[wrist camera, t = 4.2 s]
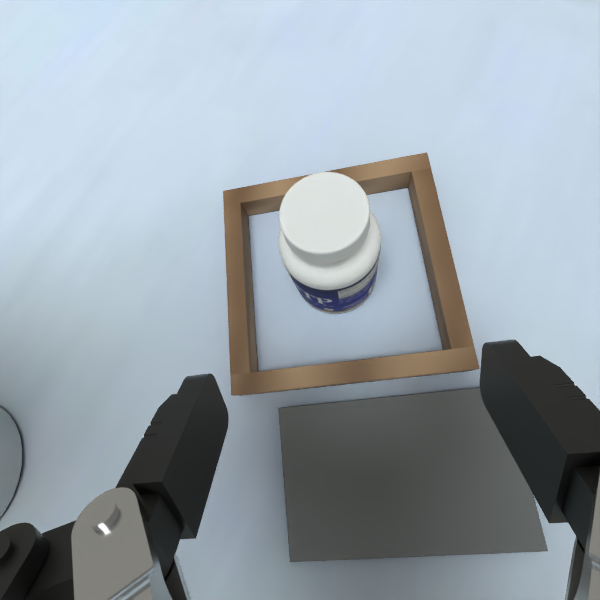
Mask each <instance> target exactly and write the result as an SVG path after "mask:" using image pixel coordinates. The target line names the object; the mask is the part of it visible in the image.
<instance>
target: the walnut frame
mask: <svg viewBox="0 0 600 600" xmlns="http://www.w3.org/2000/svg"><path fill="white" fill-rule="evenodd" d="M327 172H334V173H339V174H343V175H345V176H348V177H350V178H351V179H353V180H354V181H356V182H357V183H358V184H359V185H360V186H361V188H362V189H363V190H364V192H365V193H366V195H368V194H374V193H379V192H385V191H391V190H396V189H402V188H408V189H409V194H410V198H411V203H412V208H413V212H414V217H415V222H416V226H417V231H418V235H419V240H420V245H421V249H422V254H423V259H424V263H425V268H426V272H427V277H428V282H429V286H430V291H431V296H432V300H433V305H434V310H435V314H436V319H437V323H438V328H439V333H440V337H441V342H442V347H443V350H439V351H431V352H422V353H414V354H405V355H397V356H388V357H379V358H371V359H362V360H354V361H345V362H336V363H328V364H319V365H311V366H302V367H293V368H285V369H276V370H268V371H259V372H258V364H257V348H256V332H255V316H254V300H253V284H252V268H251V252H250V236H249V220H248V216H250V215H256V214H261V213H267V212H272V211H278V210H280V206H281V203H282V200H283V198H284V196H285V195H286V193H287V192H288V191H289V189H290V188H291V187H292V186H293V185H294V184H295V183H297V182H298V181H300V180H301V179H303V178H305V177H307V176H309V175H305V176H300V177H295V178H290V179H284V180H279V181H274V182H268V183H263V184H258V185H252V186H247V187H242V188H237V189H231V190H226V191H223V198H224V223H225V248H226V273H227V297H228V322H229V347H230V372H231V395H239V396H242V395H251V394H260V393H270V392H279V391H288V390H297V389H307V388H316V387H325V386H334V385H344V384H353V383H362V382H372V381H381V380H390V379H399V378H409V377H418V376H427V375H436V374H446V373H455V372H464V371H471V370H475V369H479V365H478V361H477V357H476V353H475V349H474V344H473V340H472V336H471V332H470V328H469V324H468V320H467V316H466V311H465V307H464V303H463V299H462V295H461V291H460V287H459V282H458V278H457V274H456V270H455V266H454V262H453V258H452V253H451V249H450V245H449V241H448V237H447V233H446V229H445V225H444V220H443V216H442V212H441V208H440V204H439V200H438V196H437V191H436V187H435V183H434V179H433V175H432V171H431V167H430V163H429V158H428V154H427V153H422V154H416V155H411V156H406V157H401V158H395V159H390V160H385V161H379V162H374V163H369V164H364V165H358V166H353V167H348V168H342V169H337V170H332V171H327ZM311 175H312V174H311Z"/></svg>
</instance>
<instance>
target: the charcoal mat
mask: <svg viewBox="0 0 600 600" xmlns="http://www.w3.org/2000/svg"><path fill="white" fill-rule="evenodd" d="M278 410H279V423H280V436H281V449H282V462H283V475H284V488H285V501H286V514H287V527H288V540H289V553H290V562H302V561H326V560H349V559H373V558H397V557H421V556H445V555H468V554H492V553H516V552H540V551H548V550H547V546H546V542H545V538H544V534H543V531H542V527H541V523H540V519H539V515H538V511H537V507H536V504H535V500H534V496H533V493H532V491H531V489H530V487H529V485H528V484H527V482H526V480H525V478H524V476H523V475H522V473H521V471H520V469H519V467H518V465H517V464H516V462H515V460H514V458H513V456H512V454H511V453H510V451H509V449H508V447H507V445H506V444H505V442H504V440H503V438H502V436H501V434H500V433H499V431H498V429H497V427H496V425H495V424H494V422H493V420H492V418H491V416H490V414H489V413H488V411H487V409H486V407H485V405H484V403H483V400H482V397H481V392H480V388H472V389H462V390H452V391H443V392H433V393H423V394H413V395H403V396H393V397H383V398H374V399H364V400H354V401H344V402H334V403H324V404H314V405H305V406H295V407H285V408H278Z"/></svg>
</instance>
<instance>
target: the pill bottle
mask: <svg viewBox="0 0 600 600" xmlns="http://www.w3.org/2000/svg"><path fill="white" fill-rule="evenodd" d="M279 222H280V227H281V229H280V232H279V241H278V243H279V252H280V256H281V258H282V261H283V263H284V266H285V267H286V269H287V271H288V273H289V274H290V276H291V278H292V280H293V281H294V283H295V285H296V286H297V288H298V290H299V292H300V293H301V295H302V297H303V298H304V299H305V301H306V302H307V303H308V304H309V305H311V306H312V307H314V308H315V309H317V310H319V311H322V312H325V313H332V314H339V313H345V312H348V311H351V310H353V309H355V308H357V307H359V306H360V305H361V304H362V303H364V302H365V301H366V299H367V298H368V297H369V295H370V294H371V292H372V290H373V287H374V284H375V280H376V273H377V267H378V260H379V254H380V247H381V234H380V228H379V225H378V222H377V220H376V218H375V216H374V214H373V213H372V211H371V210H370V205H369V201H368V198H367V195H366V193H365V192H364V190H363V189H362V188H361V186H360V185H359V184H358V183H357V182H356V181H354V180H353V179H351V178H350V177H348V176H345V175H343V174H339V173H334V172H321V173H316V174H312V175H309V176H307V177H305V178H303V179H301V180H300V181H298V182H297V183H295V184H294V185H293V186H292V187H291V188H290V189H289V191H288V192H287V193H286V195H285V196H284V198H283V200H282V203H281V206H280V211H279Z"/></svg>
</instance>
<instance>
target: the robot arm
mask: <svg viewBox="0 0 600 600" xmlns="http://www.w3.org/2000/svg"><path fill="white" fill-rule="evenodd" d="M480 392H481V397H482V400H483V403H484V405H485V407H486V409H487V411H488V413H489V414H490V416H491V418H492V420H493V422H494V424H495V425H496V427H497V429H498V431H499V433H500V434H501V436H502V438H503V440H504V442H505V444H506V445H507V447H508V449H509V451H510V453H511V454H512V456H513V458H514V460H515V462H516V464H517V465H518V467H519V469H520V471H521V473H522V475H523V476H524V478H525V480H526V482H527V484H528V485H529V487H530V489H531V491H532V493H533V495H534V496H535V498H536V500H537V502H538V504H539V505H540V507H541V509H542V511H543V513H544V515H545V516H546V518H547V520H548V522H549V523H563V522H568V523H569V525H570V526H571V528H572V530H573V531H574V533H575V535H576V539H575V542H574V548H573V554H572V560H571V566H570V572H569V578H568V584H567V589H566V595H565V600H600V411H599V409H598V408H597V407H596V406H595V405H594V404H593V403H592V402H591V401H590V400H589V399H586V395H585V394H584V393H583V392H582V391H581V390H580V389H579V388H578V387H577V386H575V385H574V382H573V381H572V380H571V379H570V378H569V377H568V376H567V375H566V374H565V372H564V371H563V370H562V369H561V368H560V367H558V366H556V365H555V364H553V363H551V362H550V361H548V360H546V359H545V358H543V357H541V356H534V357H530V356H529V354H528V353H527V352H526V351H525V350H524V349H523V347H522V346H521V345H520V344H519V343H518V342H517V341H516V340H506V341H497V342H488V343H484V345H483V348H482V359H481V373H480ZM227 429H228V411H227V408H226V405H225V402H224V400H223V397H222V395H221V392H220V390H219V387H218V385H217V382H216V380H215V377H214V376H213V375H212V374H203V375H194V376H187V377H186V378H185V379H184V381H183V383H182V385H181V387H180V389H179V391H178V393H177V394H174V395H171V396H170V397H169V398H168V399H167V400H166V401H165V402H164V403H163V404H162V405H161V406H160V407H159V408H158V410H157V412H156V414H155V415H154V417H153V419H152V421H151V425H150V426H149V427H148V428H147V430H146V432H145V434H144V438H142V440H141V441H140V443H139V445H138V447H137V449H136V451H135V453H134V454H133V456H132V458H131V460H130V462H129V464H128V466H127V467H126V469H125V471H124V473H123V475H122V477H121V479H120V480H119V482H118V484H117V486H116V488H115V489H112V490H109V491H107V492H105V493H103V494H101V495H100V496H98V497H97V498H95V499H94V500H93V501H92V502H91V503H90V504H89V505H88V506H87V507H86V508H85V509H84V510H83V511H82V513H81V514H80V515H79V517H78V519H77V520H76V521H73V522H71V523H68V524H66V525H63V526H60V527H58V528H55V529H53V530H50V531H47V532H45V533H42V534H41V533H40V532H39V531H38V530H37V529H36V528H35V527H34V526H33V525H31V524H29V523H19V524H15V525H12V526H10V527H8V528H6V529H4V530H2V531H1V532H0V600H191V598H190V594H189V591H188V588H187V585H186V582H185V579H184V576H183V572H182V569H181V566H180V563H179V560H178V557H177V555H176V554H175V553H176V550H177V547H178V544H179V541H180V539H193V538H196V536H197V533H198V529H199V526H200V522H201V519H202V515H203V512H204V508H205V505H206V501H207V498H208V495H209V491H210V488H211V484H212V481H213V477H214V474H215V470H216V467H217V463H218V460H219V457H220V453H221V450H222V446H223V443H224V439H225V436H226V432H227ZM21 467H22V445H21V439H20V434H19V432H18V429H17V426H16V424H15V422H14V421H13V419H12V418H11V417H10V415H9V414H8V413H7V412H6V411H5V410H3V409H2V408H1V407H0V517H1V516H2V514H3V513H4V512H5V510H6V508H7V506H8V505H9V503H10V501H11V499H12V498H13V495H14V492H15V490H16V487H17V484H18V481H19V477H20V472H21Z"/></svg>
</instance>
